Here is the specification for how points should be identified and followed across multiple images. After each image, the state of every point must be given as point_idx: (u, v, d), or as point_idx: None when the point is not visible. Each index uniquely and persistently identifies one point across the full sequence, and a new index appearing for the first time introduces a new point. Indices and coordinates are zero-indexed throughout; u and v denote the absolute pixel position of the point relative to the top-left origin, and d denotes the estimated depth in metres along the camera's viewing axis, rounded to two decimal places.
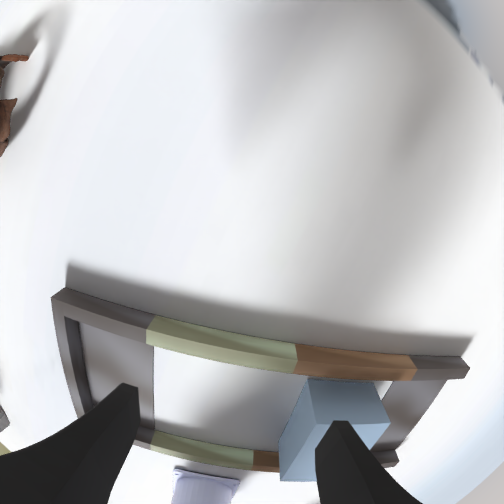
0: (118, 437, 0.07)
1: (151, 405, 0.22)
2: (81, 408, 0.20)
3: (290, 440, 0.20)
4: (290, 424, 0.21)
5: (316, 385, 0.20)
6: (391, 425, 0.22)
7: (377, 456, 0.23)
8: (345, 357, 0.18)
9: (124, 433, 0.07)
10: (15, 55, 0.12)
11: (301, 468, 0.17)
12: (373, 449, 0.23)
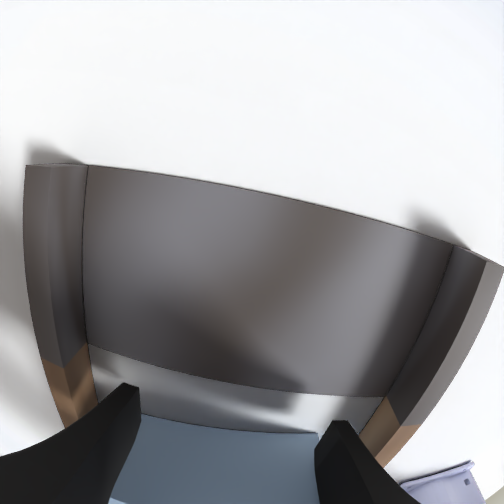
0: (119, 437, 0.07)
1: None
2: None
3: None
4: None
5: None
6: (303, 313, 0.09)
7: (437, 323, 0.08)
8: None
9: (125, 433, 0.07)
10: None
11: None
12: (409, 331, 0.09)
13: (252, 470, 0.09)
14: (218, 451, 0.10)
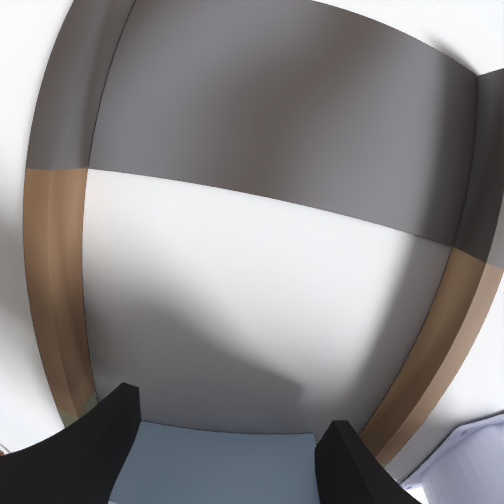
0: (119, 437, 0.07)
1: None
2: None
3: None
4: None
5: None
6: (354, 103, 0.07)
7: (487, 137, 0.06)
8: None
9: (125, 433, 0.07)
10: None
11: None
12: (462, 150, 0.07)
13: (247, 472, 0.09)
14: (214, 454, 0.10)
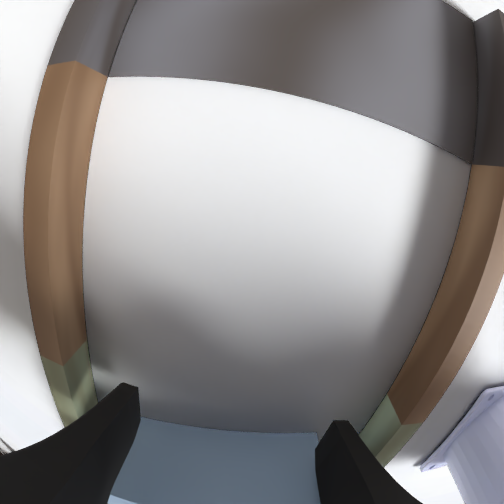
0: (118, 437, 0.07)
1: None
2: None
3: None
4: None
5: None
6: (366, 25, 0.06)
7: (488, 65, 0.06)
8: None
9: (124, 433, 0.07)
10: None
11: None
12: (467, 77, 0.06)
13: (251, 467, 0.09)
14: (218, 449, 0.10)
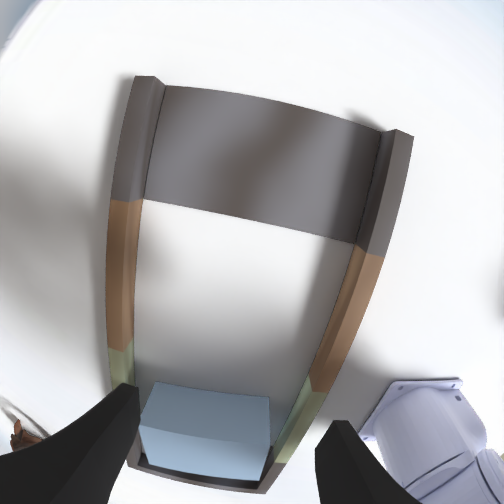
0: (118, 437, 0.07)
1: None
2: (238, 488, 0.22)
3: None
4: None
5: None
6: (289, 165, 0.15)
7: (377, 177, 0.14)
8: None
9: (124, 433, 0.07)
10: (14, 426, 0.23)
11: (225, 472, 0.17)
12: (360, 185, 0.15)
13: (228, 412, 0.18)
14: (209, 401, 0.19)
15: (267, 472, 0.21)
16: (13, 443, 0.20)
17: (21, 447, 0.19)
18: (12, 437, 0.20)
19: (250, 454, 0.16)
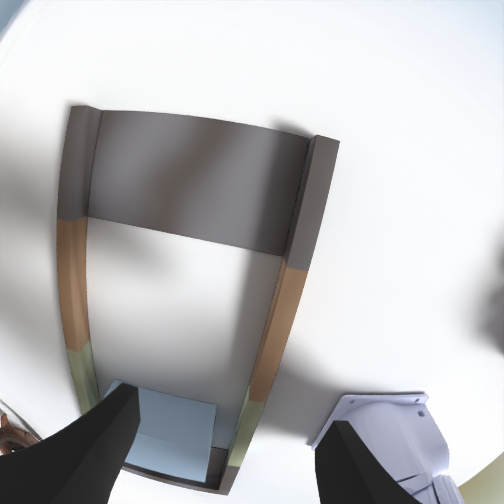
0: (118, 437, 0.07)
1: None
2: (200, 488, 0.22)
3: None
4: None
5: None
6: (210, 180, 0.16)
7: (301, 186, 0.15)
8: None
9: (124, 433, 0.07)
10: None
11: (173, 471, 0.17)
12: (285, 196, 0.16)
13: (175, 415, 0.18)
14: (160, 403, 0.19)
15: (224, 474, 0.21)
16: None
17: (4, 437, 0.20)
18: None
19: (192, 456, 0.16)
